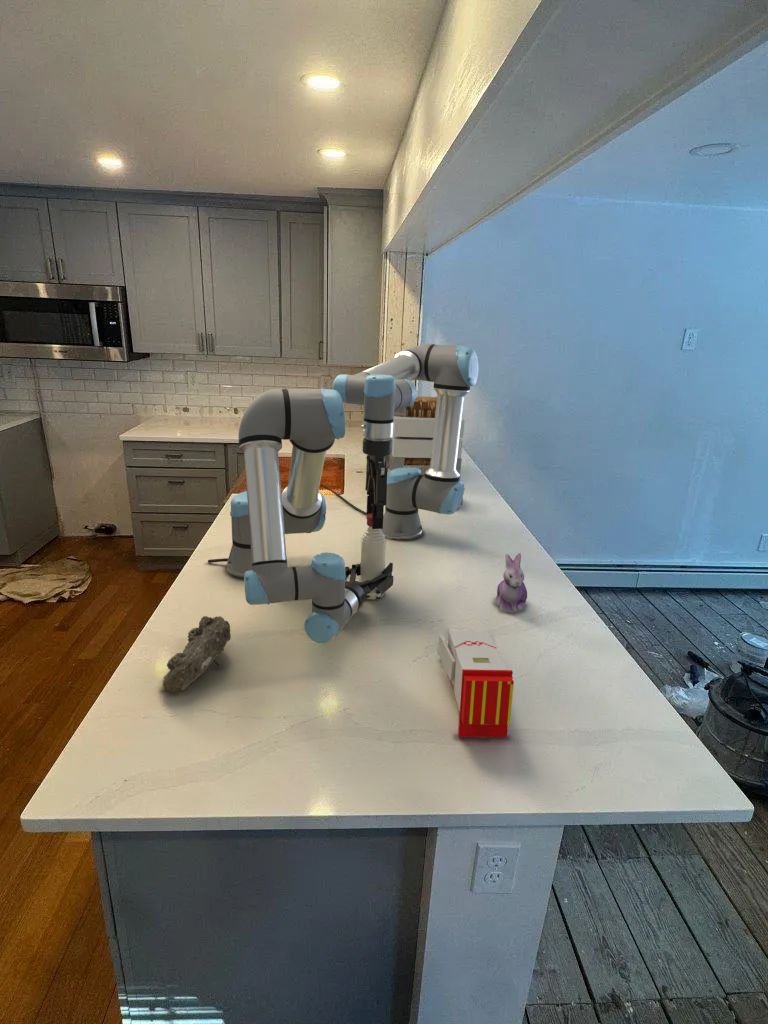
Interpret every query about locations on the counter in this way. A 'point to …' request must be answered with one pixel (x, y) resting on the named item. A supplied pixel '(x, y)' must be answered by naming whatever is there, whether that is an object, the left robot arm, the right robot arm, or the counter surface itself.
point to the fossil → (197, 653)
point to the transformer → (416, 435)
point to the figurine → (512, 586)
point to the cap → (369, 519)
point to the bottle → (372, 555)
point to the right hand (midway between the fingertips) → (374, 523)
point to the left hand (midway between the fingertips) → (379, 564)
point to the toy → (478, 682)
